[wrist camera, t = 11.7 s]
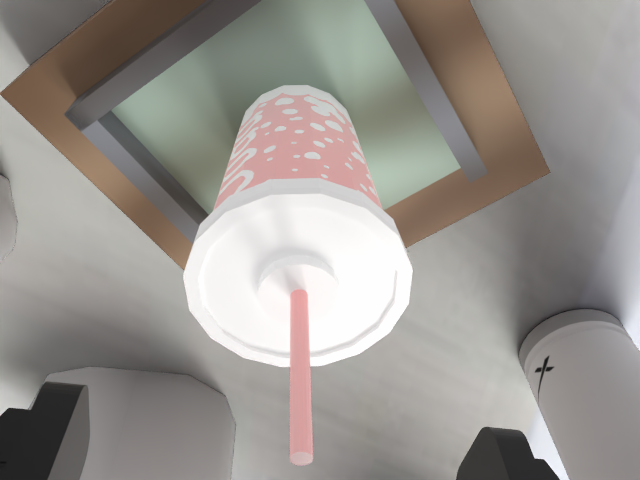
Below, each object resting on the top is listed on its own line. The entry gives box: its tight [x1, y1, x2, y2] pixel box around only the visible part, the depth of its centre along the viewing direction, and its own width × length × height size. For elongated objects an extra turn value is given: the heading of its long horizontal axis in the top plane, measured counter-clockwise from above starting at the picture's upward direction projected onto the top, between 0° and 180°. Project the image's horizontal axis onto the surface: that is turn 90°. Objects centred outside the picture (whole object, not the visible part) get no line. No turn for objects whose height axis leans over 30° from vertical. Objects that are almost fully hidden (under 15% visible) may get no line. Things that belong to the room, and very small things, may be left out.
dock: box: [0, 0, 550, 270], centre depth 23 cm, size 15×16×4 cm
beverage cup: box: [183, 85, 413, 466], centre depth 17 cm, size 6×6×14 cm
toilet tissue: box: [28, 366, 236, 480], centre depth 34 cm, size 9×13×9 cm
